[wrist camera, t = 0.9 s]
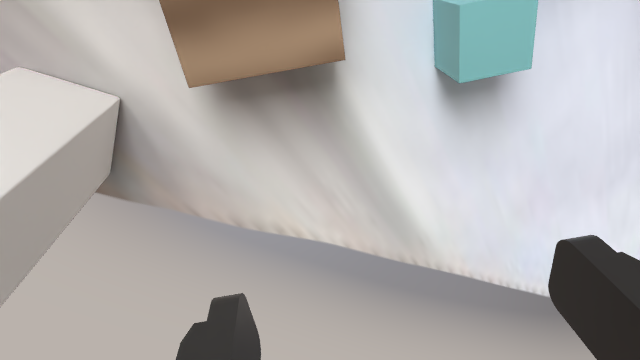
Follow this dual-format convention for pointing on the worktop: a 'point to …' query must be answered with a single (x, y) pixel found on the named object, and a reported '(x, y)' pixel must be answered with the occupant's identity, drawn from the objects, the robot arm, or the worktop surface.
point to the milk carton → (47, 163)
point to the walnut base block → (252, 36)
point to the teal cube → (483, 37)
